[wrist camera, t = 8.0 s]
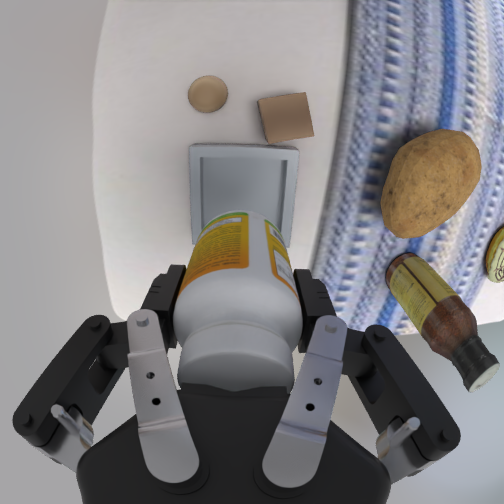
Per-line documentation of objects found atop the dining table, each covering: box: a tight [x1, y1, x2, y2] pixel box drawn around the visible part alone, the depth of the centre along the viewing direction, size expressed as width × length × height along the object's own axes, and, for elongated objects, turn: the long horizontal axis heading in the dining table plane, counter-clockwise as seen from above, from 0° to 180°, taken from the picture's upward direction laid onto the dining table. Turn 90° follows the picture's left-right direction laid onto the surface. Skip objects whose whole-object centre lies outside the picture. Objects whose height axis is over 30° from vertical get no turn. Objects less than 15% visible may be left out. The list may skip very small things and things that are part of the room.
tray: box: [189, 144, 299, 248], centre depth 27 cm, size 10×10×2 cm
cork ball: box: [188, 76, 228, 113], centre depth 22 cm, size 4×4×4 cm
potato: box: [380, 129, 481, 239], centre depth 23 cm, size 10×14×8 cm
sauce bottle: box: [386, 253, 500, 393], centre depth 24 cm, size 6×6×20 cm
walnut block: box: [258, 92, 314, 144], centre depth 23 cm, size 4×4×4 cm
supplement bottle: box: [173, 210, 303, 394], centre depth 13 cm, size 5×5×10 cm
